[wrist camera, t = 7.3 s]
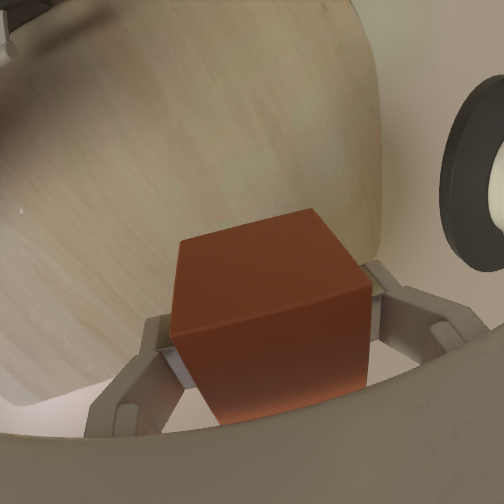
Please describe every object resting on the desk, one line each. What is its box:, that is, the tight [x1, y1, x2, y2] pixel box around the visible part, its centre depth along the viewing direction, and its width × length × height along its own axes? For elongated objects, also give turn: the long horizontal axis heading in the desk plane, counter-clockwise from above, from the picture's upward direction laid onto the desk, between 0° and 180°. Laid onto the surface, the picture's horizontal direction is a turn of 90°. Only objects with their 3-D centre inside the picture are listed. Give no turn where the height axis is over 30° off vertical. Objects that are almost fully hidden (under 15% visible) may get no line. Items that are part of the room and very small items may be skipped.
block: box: [169, 208, 372, 426], centre depth 9 cm, size 4×4×4 cm
